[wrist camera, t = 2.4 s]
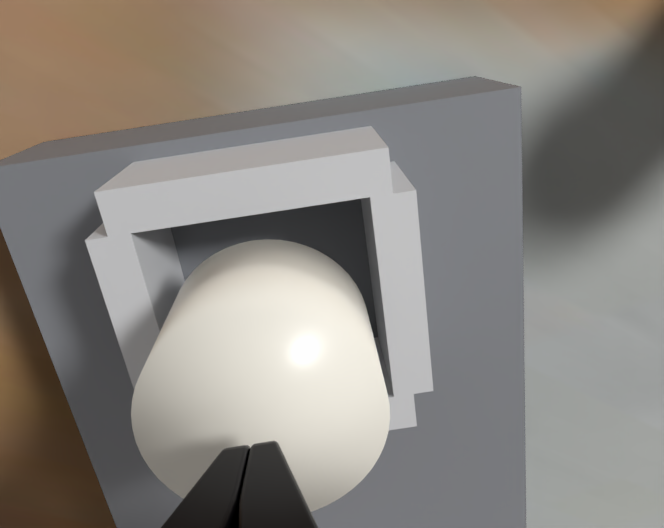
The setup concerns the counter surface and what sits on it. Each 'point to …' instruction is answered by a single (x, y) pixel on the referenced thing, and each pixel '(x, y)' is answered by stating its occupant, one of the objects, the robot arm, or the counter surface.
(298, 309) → the cream plunger
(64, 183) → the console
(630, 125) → the counter surface
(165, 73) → the counter surface
